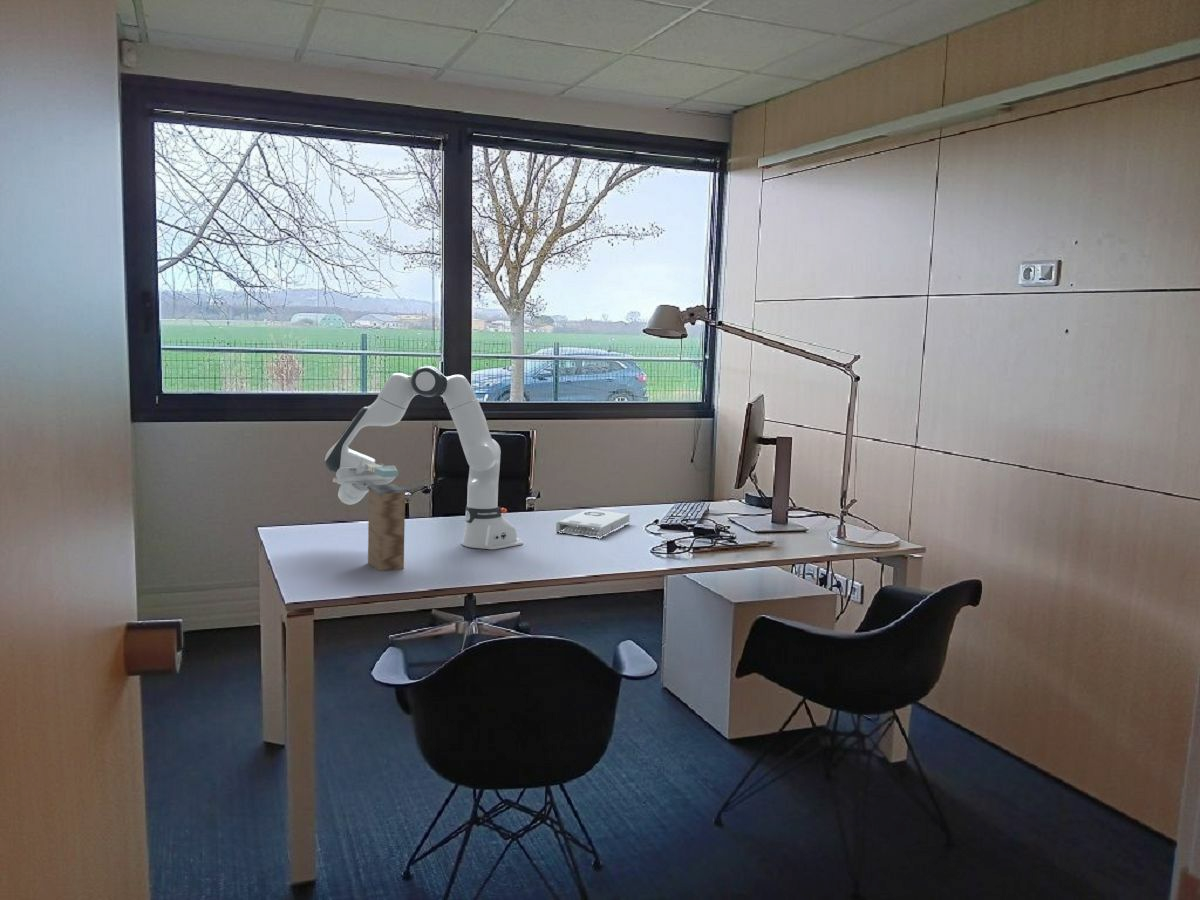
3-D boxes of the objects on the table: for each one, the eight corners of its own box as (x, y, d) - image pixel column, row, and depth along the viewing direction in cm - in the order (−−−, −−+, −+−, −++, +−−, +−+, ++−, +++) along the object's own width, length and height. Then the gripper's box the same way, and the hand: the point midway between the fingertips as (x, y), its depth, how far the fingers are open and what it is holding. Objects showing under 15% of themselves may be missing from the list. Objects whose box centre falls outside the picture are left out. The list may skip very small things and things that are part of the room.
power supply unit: (555, 534, 349) (556, 522, 348) (588, 520, 379) (588, 509, 378) (599, 540, 342) (600, 528, 341) (629, 525, 372) (629, 514, 371)
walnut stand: (392, 560, 296) (393, 484, 293) (405, 568, 287) (406, 489, 284) (366, 563, 291) (367, 485, 288) (378, 571, 282) (379, 491, 279)
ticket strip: (376, 467, 300) (376, 461, 300) (398, 476, 284) (398, 470, 284) (361, 468, 297) (361, 462, 297) (383, 477, 281) (383, 471, 281)
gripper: (329, 473, 301) (341, 458, 290) (387, 470, 313) (400, 456, 302) (332, 490, 299) (344, 476, 288) (390, 487, 311) (403, 473, 300)
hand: (373, 465), depth 295 cm, fingers closed on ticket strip, 4 cm apart
